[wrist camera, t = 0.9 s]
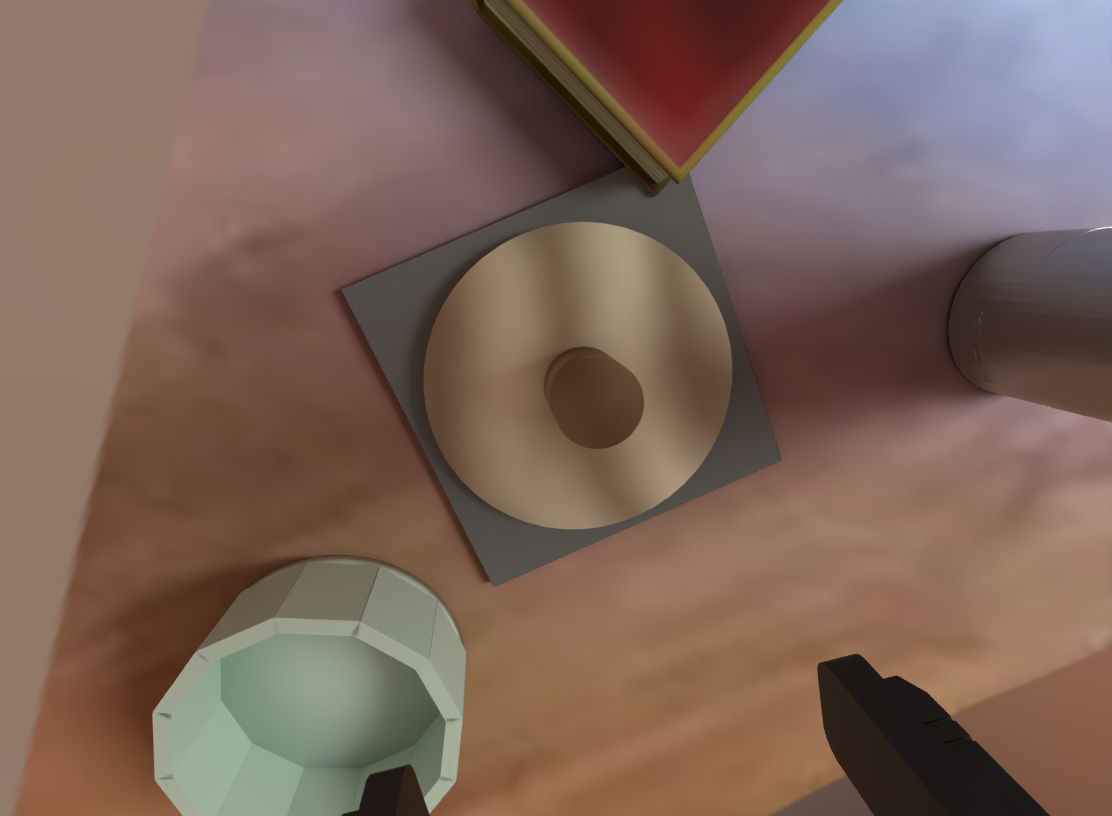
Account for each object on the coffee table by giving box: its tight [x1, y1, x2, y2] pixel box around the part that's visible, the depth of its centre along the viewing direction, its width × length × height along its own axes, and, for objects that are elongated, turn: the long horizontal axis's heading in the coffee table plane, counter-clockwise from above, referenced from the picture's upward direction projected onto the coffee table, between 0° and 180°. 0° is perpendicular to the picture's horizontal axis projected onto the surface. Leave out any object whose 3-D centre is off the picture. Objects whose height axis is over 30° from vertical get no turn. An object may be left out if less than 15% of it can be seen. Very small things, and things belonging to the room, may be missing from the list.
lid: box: [424, 222, 732, 529], centre depth 28 cm, size 16×16×6 cm
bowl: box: [153, 555, 466, 816], centre depth 30 cm, size 14×14×6 cm
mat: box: [341, 167, 782, 587], centre depth 31 cm, size 18×18×1 cm
